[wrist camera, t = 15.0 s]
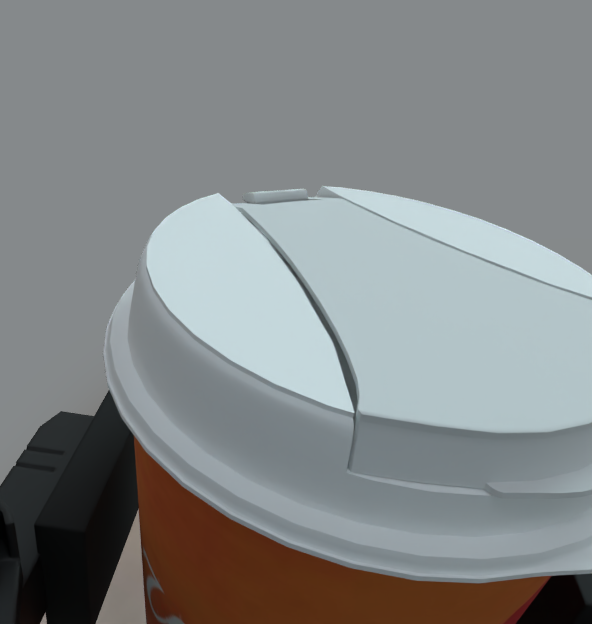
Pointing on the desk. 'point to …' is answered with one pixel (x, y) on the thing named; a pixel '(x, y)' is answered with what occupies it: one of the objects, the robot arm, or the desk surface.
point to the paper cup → (353, 412)
